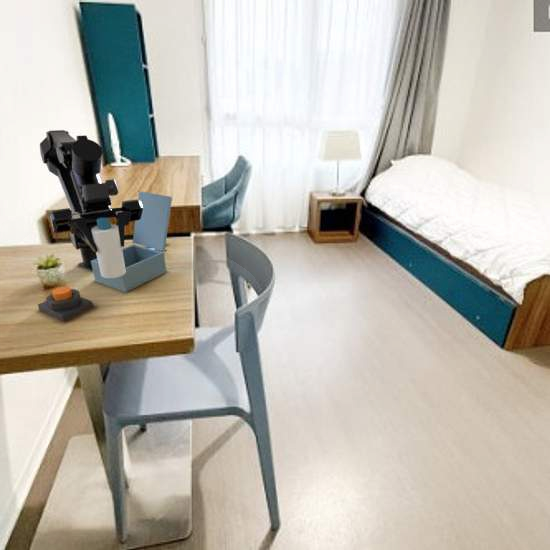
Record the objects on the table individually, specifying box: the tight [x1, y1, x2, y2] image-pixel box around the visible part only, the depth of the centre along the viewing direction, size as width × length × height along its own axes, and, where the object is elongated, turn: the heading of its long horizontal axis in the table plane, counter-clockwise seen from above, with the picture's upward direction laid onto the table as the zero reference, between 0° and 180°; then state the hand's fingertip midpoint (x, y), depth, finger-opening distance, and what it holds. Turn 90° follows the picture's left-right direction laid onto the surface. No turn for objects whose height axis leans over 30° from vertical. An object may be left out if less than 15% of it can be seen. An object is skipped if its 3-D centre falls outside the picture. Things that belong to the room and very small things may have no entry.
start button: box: [51, 286, 72, 301], centre depth 80 cm, size 4×4×2 cm
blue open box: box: [91, 243, 167, 293], centre depth 96 cm, size 14×12×6 cm
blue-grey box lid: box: [132, 190, 173, 252], centre depth 99 cm, size 14×12×1 cm
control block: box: [37, 288, 94, 323], centre depth 81 cm, size 9×7×4 cm
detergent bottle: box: [91, 217, 126, 278], centre depth 82 cm, size 5×5×13 cm
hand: (109, 248), depth 81 cm, fingers closed on detergent bottle, 5 cm apart
